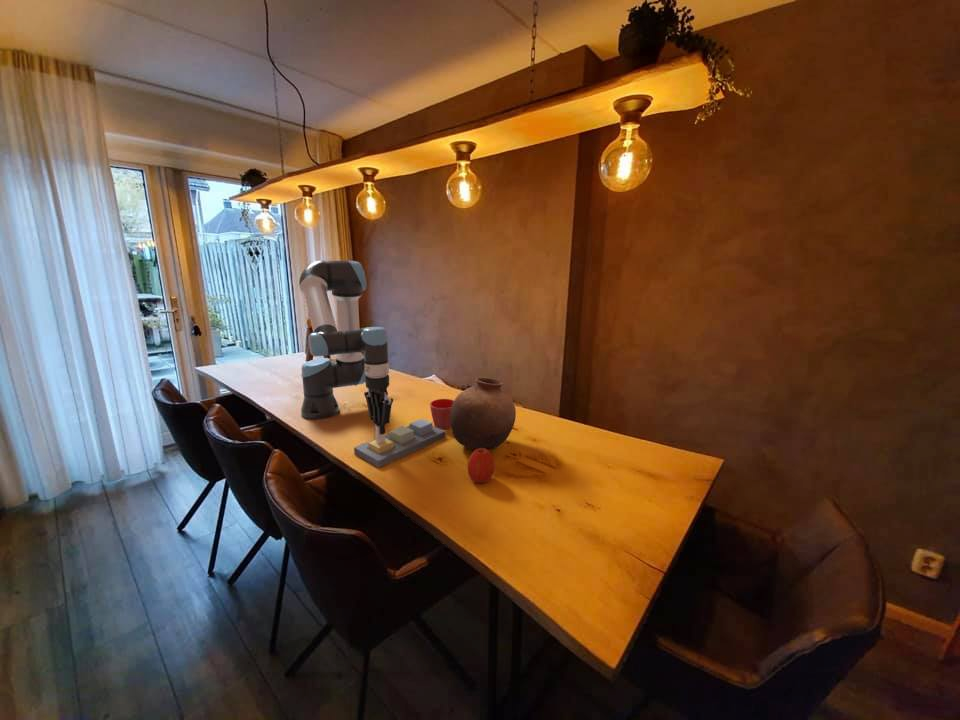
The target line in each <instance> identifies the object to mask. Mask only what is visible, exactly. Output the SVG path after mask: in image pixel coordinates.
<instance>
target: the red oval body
mask: <svg viewBox="0 0 960 720" xmlns="http://www.w3.org/2000/svg"><path fill="white" fill-rule="evenodd" d="M468 459H469V460H468V462H467V473H468V475H469V478H470V480H471V481H472V482H473V483H474V484H483V483H485V482H488V481H490V479H491V478H492V476H493V474H494V472H495V469H496V468H495V466H496V465H495V461H494V458H493V456H492V454H491V453H490V450H486V449H484V448H479V449H476V450H475V449H474V451H473V452H472V454H471V455H470V457H469V458H468Z"/></svg>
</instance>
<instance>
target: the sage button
mask: <svg viewBox="0 0 960 720" xmlns="http://www.w3.org/2000/svg"><path fill="white" fill-rule="evenodd" d="M389 433H390V440H391V441H393V442H395V443H397V444H399V445H402V444H404V443H407V442H409V441H411V440H414V430H411V429H409V428H407V426H404V425H402V426H399V427H396V428H394V429H391V430H389Z"/></svg>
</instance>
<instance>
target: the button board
mask: <svg viewBox="0 0 960 720" xmlns="http://www.w3.org/2000/svg"><path fill="white" fill-rule="evenodd" d="M406 427H407V428H409V429H410V425H407V426H406ZM446 432H447V431H446V430H445V429H439V428H437V427H435V426H434V425H432V432H430V433H427V434H425V435H423V436H418V435H415V434H414V440H411V441H409V442H407V443H404V444H402V445H399V444H397V443H395V442H393V443H394V448H393V449H390V450H388V451H386V452H383V453H381V454H377V453H375V452H373V451H371V450H369V449H368V442H371V441H373V440H376V438H374V439H372V440H369V441H367V442H365V443H361V444H359V445H356V446H354V447H353V452H354V453H353V454H354V455H355V456H358V457H359V458H361V459H363V460H364V461H365V462H368V463H369V464H371V465H373V466H375V467H377V468H378V469H380V468H382V467H385V466H386V465H389V464H392V463H393V462H395V461H397V460H399V459H401V458H403V457H405V456H406V457H407V456H409V455H410V454H412V453H415V452H417V451H419V450H421V449H423V448H426V447H428V446H430V445H432V444H434V443H436V442H439V441H440V440H443V439H445V438H446V437H447V436H446V435H447V434H446ZM385 438H386V439H388V440H390V432H389V433H387V434H385Z"/></svg>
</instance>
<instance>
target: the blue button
mask: <svg viewBox="0 0 960 720" xmlns="http://www.w3.org/2000/svg"><path fill="white" fill-rule="evenodd" d="M409 426H410V429H411V430H414V434H415V435H418V436H423V435H425V434H427V433H430V432H432V426H433V422H431V421H429V420H425V419H423V418H420V419H418V420H415V421H413V422H410V423H409Z"/></svg>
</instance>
